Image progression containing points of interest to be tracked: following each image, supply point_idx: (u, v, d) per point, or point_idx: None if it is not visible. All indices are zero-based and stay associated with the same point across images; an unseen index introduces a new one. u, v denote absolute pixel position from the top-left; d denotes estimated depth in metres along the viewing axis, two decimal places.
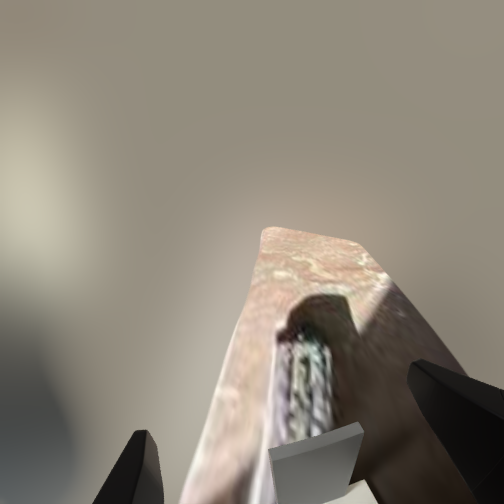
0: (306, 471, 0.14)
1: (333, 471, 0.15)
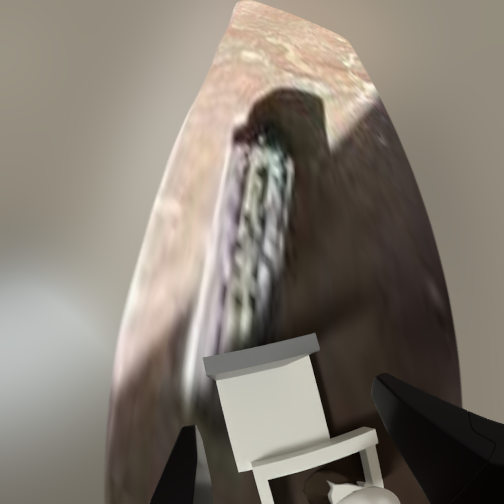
0: (246, 370, 0.15)
1: (276, 364, 0.16)
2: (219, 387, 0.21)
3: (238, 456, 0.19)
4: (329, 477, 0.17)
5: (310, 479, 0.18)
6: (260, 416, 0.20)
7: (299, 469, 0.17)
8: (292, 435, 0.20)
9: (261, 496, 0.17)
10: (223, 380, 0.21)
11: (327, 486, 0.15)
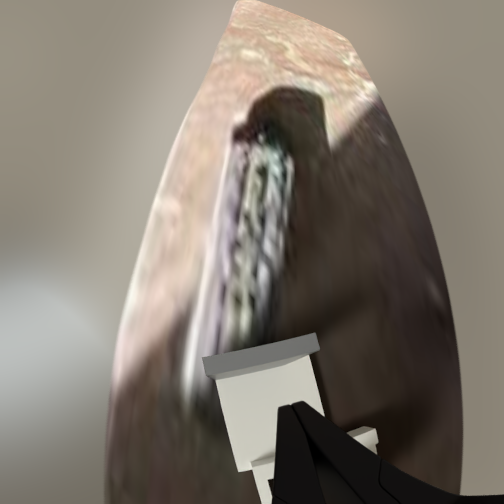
0: (245, 370, 0.15)
1: (276, 364, 0.16)
2: (219, 387, 0.21)
3: (237, 456, 0.19)
4: None
5: None
6: (260, 416, 0.20)
7: None
8: None
9: (261, 496, 0.17)
10: (223, 380, 0.21)
11: None
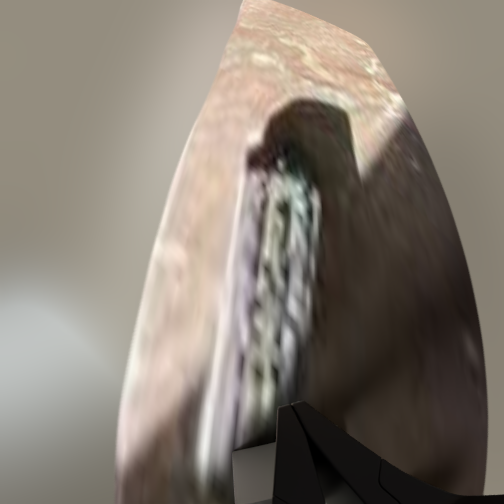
0: None
1: None
2: None
3: None
4: None
5: None
6: None
7: None
8: None
9: None
10: None
11: None
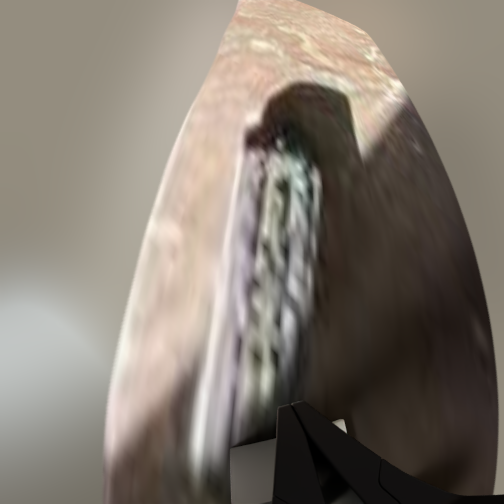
0: None
1: None
2: None
3: None
4: None
5: None
6: None
7: None
8: None
9: None
10: None
11: None
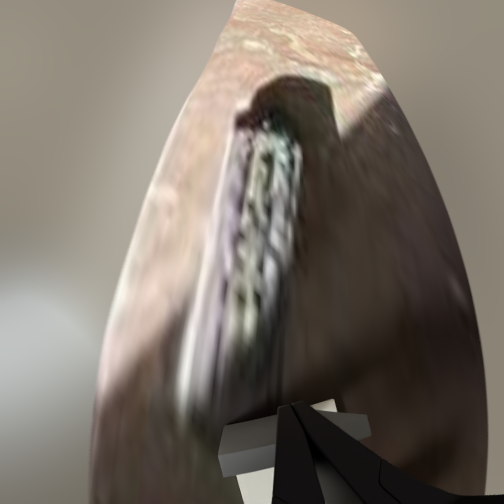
0: None
1: None
2: None
3: None
4: None
5: None
6: None
7: None
8: None
9: None
10: None
11: None
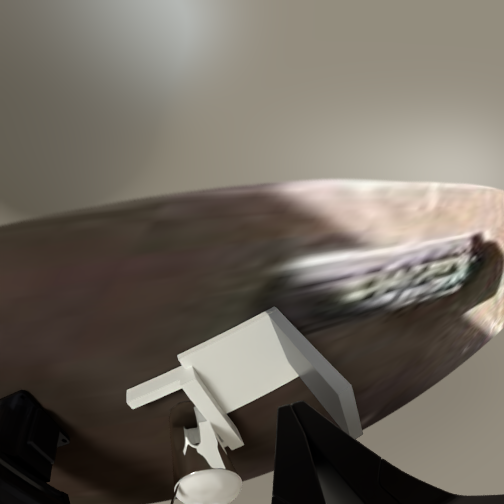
0: (322, 389, 0.16)
1: (318, 393, 0.18)
2: (262, 319, 0.22)
3: (194, 354, 0.21)
4: (212, 427, 0.21)
5: None
6: (240, 360, 0.23)
7: (202, 410, 0.21)
8: (226, 388, 0.23)
9: (161, 388, 0.20)
10: (269, 320, 0.22)
11: (213, 438, 0.19)
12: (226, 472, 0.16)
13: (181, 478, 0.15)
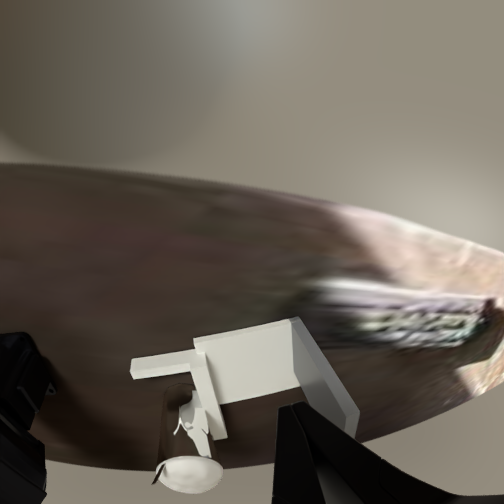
0: (327, 406, 0.17)
1: (319, 409, 0.19)
2: (284, 326, 0.23)
3: (211, 342, 0.22)
4: None
5: (195, 390, 0.23)
6: (251, 358, 0.23)
7: (201, 397, 0.22)
8: (229, 381, 0.24)
9: (169, 366, 0.21)
10: (290, 329, 0.23)
11: (206, 426, 0.20)
12: (213, 463, 0.17)
13: (168, 459, 0.16)
